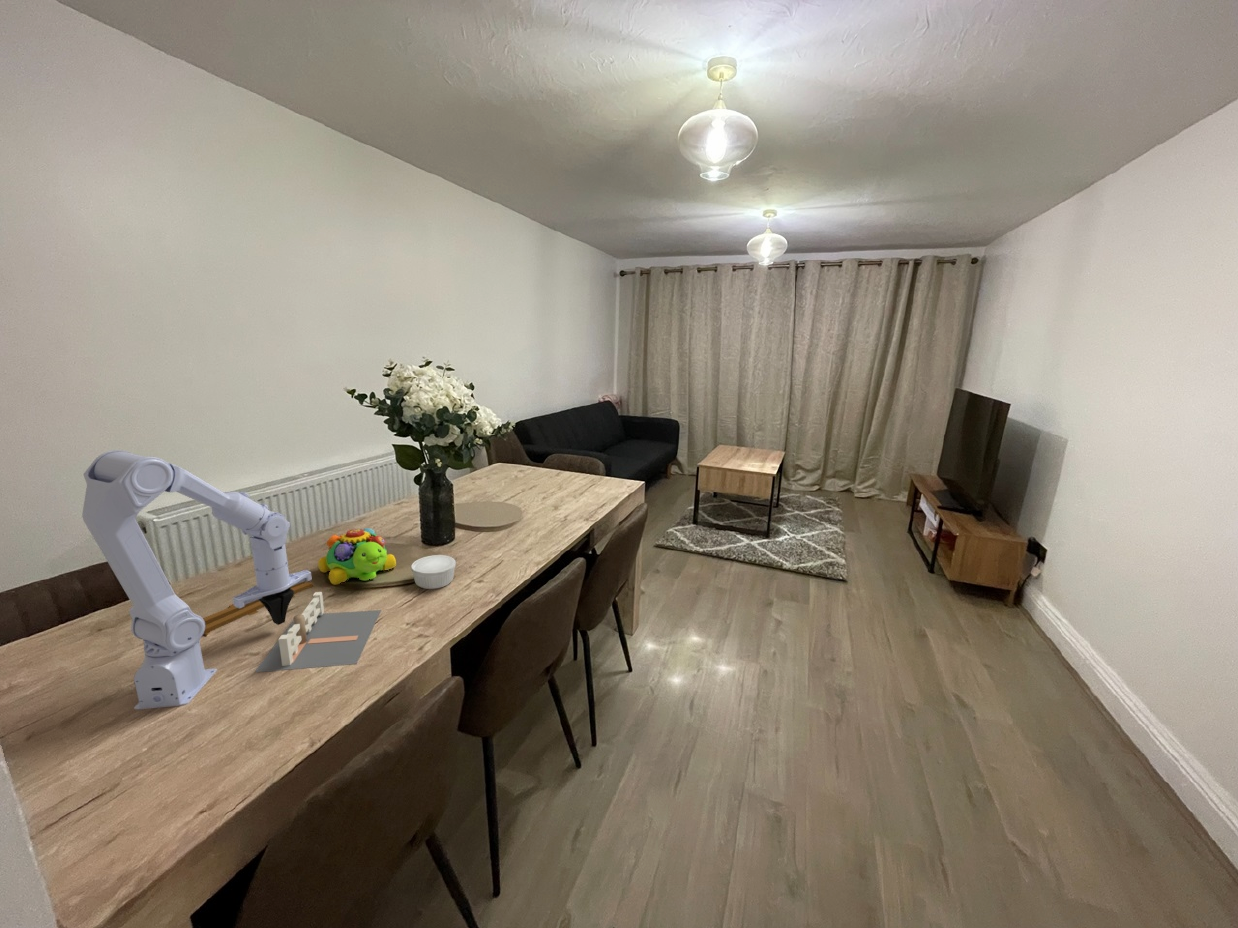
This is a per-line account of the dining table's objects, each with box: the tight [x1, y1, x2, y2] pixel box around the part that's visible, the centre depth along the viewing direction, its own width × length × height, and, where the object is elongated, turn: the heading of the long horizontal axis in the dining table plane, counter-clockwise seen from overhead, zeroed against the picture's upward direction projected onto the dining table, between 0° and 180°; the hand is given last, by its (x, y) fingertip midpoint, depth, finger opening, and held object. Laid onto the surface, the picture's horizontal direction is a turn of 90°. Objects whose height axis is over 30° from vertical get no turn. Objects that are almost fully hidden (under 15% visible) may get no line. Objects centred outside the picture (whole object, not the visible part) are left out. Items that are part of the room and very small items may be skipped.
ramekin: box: [410, 554, 457, 590], centre depth 132 cm, size 11×11×5 cm
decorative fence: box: [202, 581, 314, 637], centre depth 116 cm, size 25×2×10 cm
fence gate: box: [300, 591, 325, 633], centre depth 109 cm, size 10×1×5 cm, turn 12°
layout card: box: [253, 609, 382, 674], centre depth 106 cm, size 20×18×1 cm
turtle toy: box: [318, 527, 397, 586], centre depth 133 cm, size 17×23×12 cm
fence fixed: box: [278, 614, 307, 666], centre depth 100 cm, size 9×2×6 cm, turn 12°
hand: (279, 622), depth 107 cm, fingers closed
